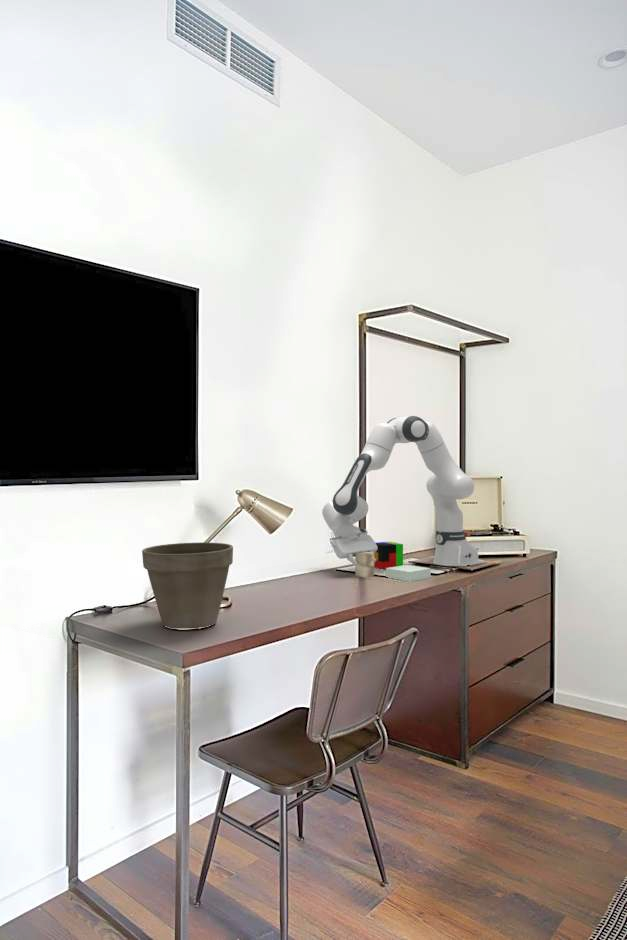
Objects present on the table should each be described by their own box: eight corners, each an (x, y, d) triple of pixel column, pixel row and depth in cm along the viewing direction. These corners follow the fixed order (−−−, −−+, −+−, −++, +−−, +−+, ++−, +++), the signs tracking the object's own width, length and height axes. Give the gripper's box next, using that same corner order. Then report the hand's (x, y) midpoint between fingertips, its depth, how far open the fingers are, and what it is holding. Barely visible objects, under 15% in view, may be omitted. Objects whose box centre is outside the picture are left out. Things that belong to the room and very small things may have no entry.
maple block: (364, 574, 270) (364, 551, 269) (373, 576, 266) (373, 553, 266) (355, 575, 266) (355, 552, 266) (364, 577, 263) (364, 554, 262)
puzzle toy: (370, 566, 289) (370, 542, 289) (390, 564, 293) (390, 541, 293) (382, 570, 280) (382, 545, 280) (403, 568, 284) (403, 544, 284)
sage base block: (406, 574, 271) (406, 564, 271) (430, 578, 262) (430, 568, 262) (386, 578, 263) (386, 568, 263) (410, 582, 254) (410, 572, 254)
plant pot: (123, 627, 187) (122, 548, 187) (188, 610, 208) (187, 539, 207) (189, 641, 173) (188, 555, 173) (251, 621, 194) (251, 545, 193)
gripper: (332, 533, 264) (350, 561, 257) (369, 529, 278) (387, 555, 271) (324, 543, 268) (342, 571, 260) (361, 539, 281) (379, 565, 274)
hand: (365, 563), depth 266 cm, fingers open, 8 cm apart
